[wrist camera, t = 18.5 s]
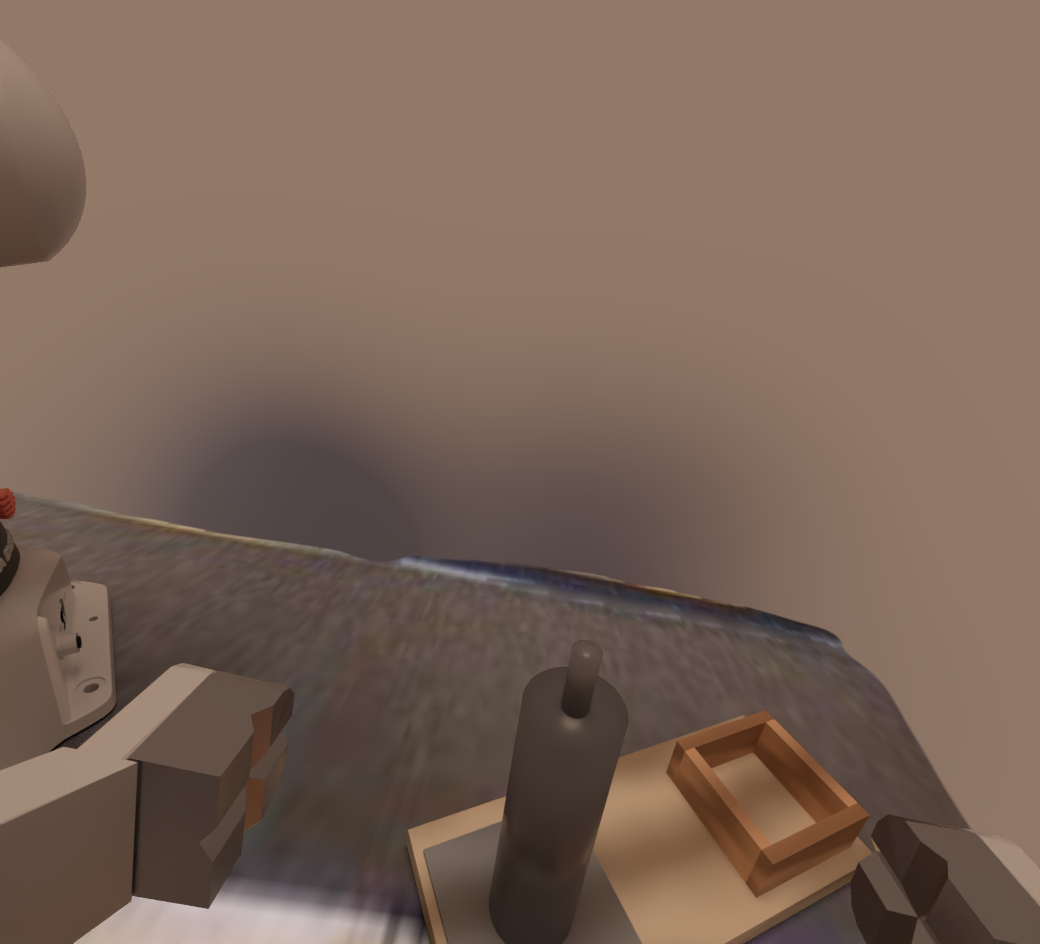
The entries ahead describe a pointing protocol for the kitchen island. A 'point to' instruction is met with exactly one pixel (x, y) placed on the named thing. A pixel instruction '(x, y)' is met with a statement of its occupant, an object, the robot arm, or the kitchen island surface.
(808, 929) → the kitchen island surface
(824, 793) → the cable board
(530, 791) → the plug
